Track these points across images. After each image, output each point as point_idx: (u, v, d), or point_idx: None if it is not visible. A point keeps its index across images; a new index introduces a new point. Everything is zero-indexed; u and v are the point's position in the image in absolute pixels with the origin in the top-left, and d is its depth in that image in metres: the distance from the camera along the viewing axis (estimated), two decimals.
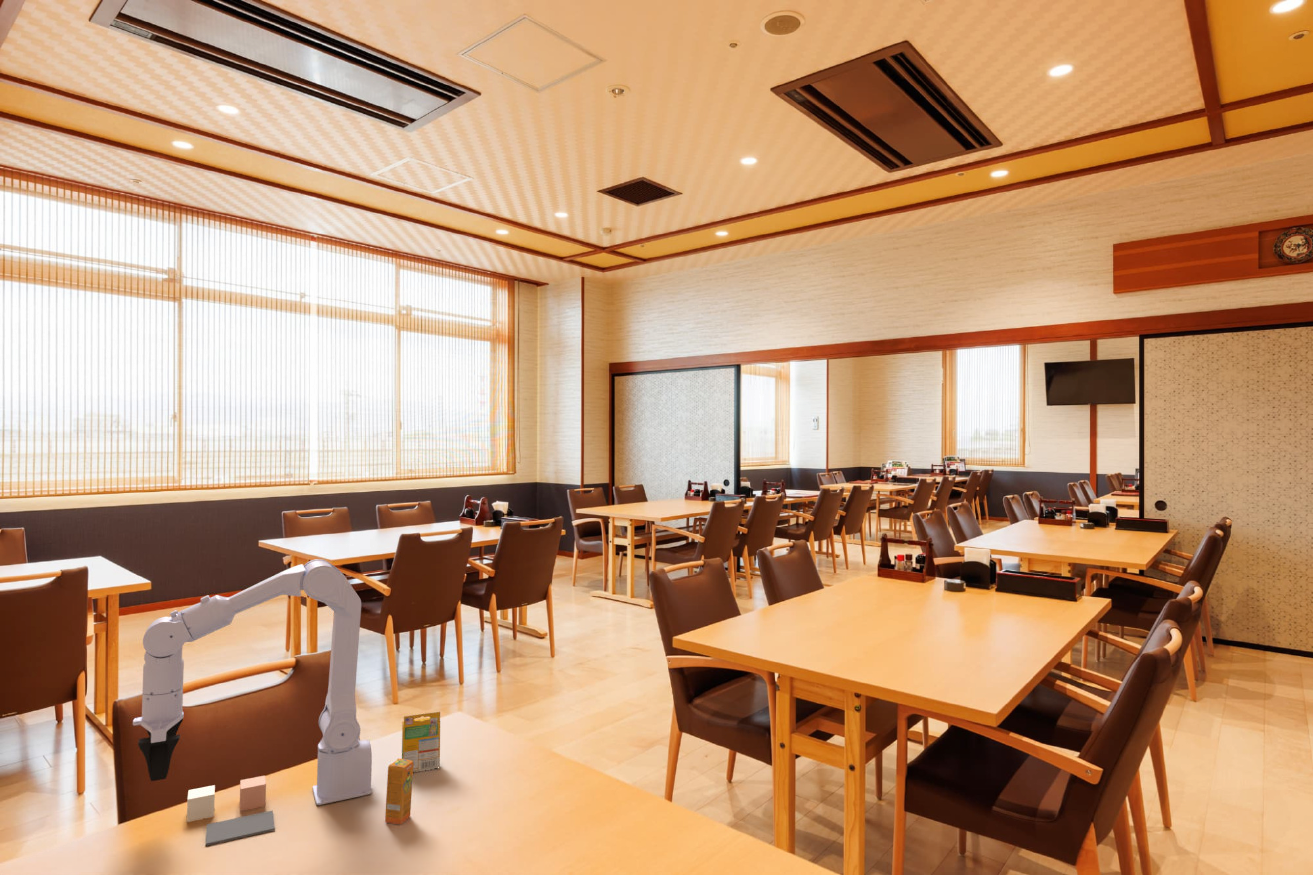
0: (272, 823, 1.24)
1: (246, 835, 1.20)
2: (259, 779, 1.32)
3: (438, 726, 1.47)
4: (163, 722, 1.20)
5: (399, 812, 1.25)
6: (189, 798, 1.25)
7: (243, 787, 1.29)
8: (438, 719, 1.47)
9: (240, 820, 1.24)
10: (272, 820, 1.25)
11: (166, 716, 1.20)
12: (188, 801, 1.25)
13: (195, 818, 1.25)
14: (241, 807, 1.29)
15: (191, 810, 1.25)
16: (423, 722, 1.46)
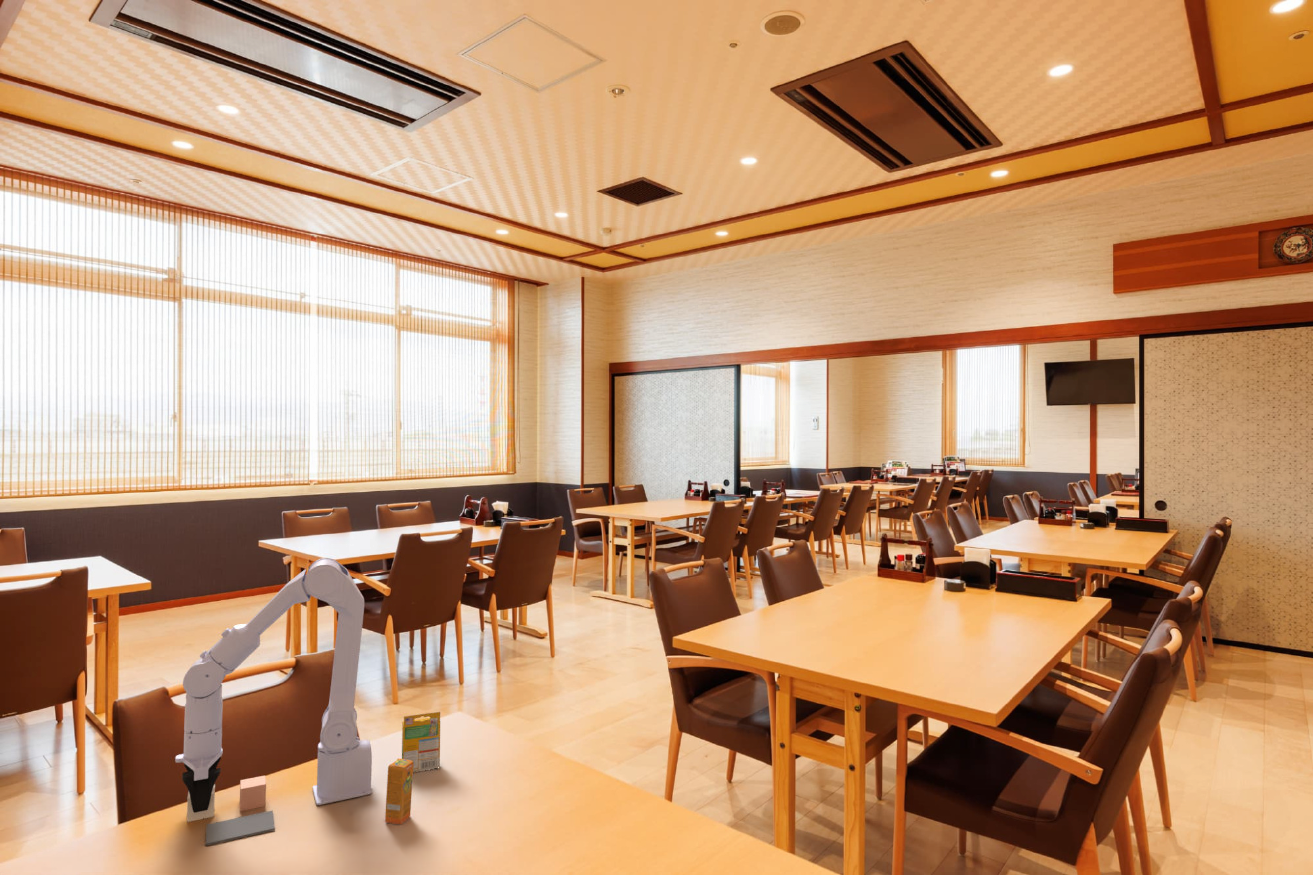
0: (272, 823, 1.24)
1: (246, 835, 1.20)
2: (259, 779, 1.32)
3: (438, 726, 1.47)
4: (204, 759, 1.25)
5: (399, 812, 1.25)
6: (189, 797, 1.25)
7: (243, 787, 1.29)
8: (438, 719, 1.47)
9: (240, 820, 1.24)
10: (272, 820, 1.25)
11: (206, 753, 1.25)
12: (188, 800, 1.25)
13: (195, 817, 1.25)
14: (241, 807, 1.29)
15: (191, 809, 1.25)
16: (423, 722, 1.46)
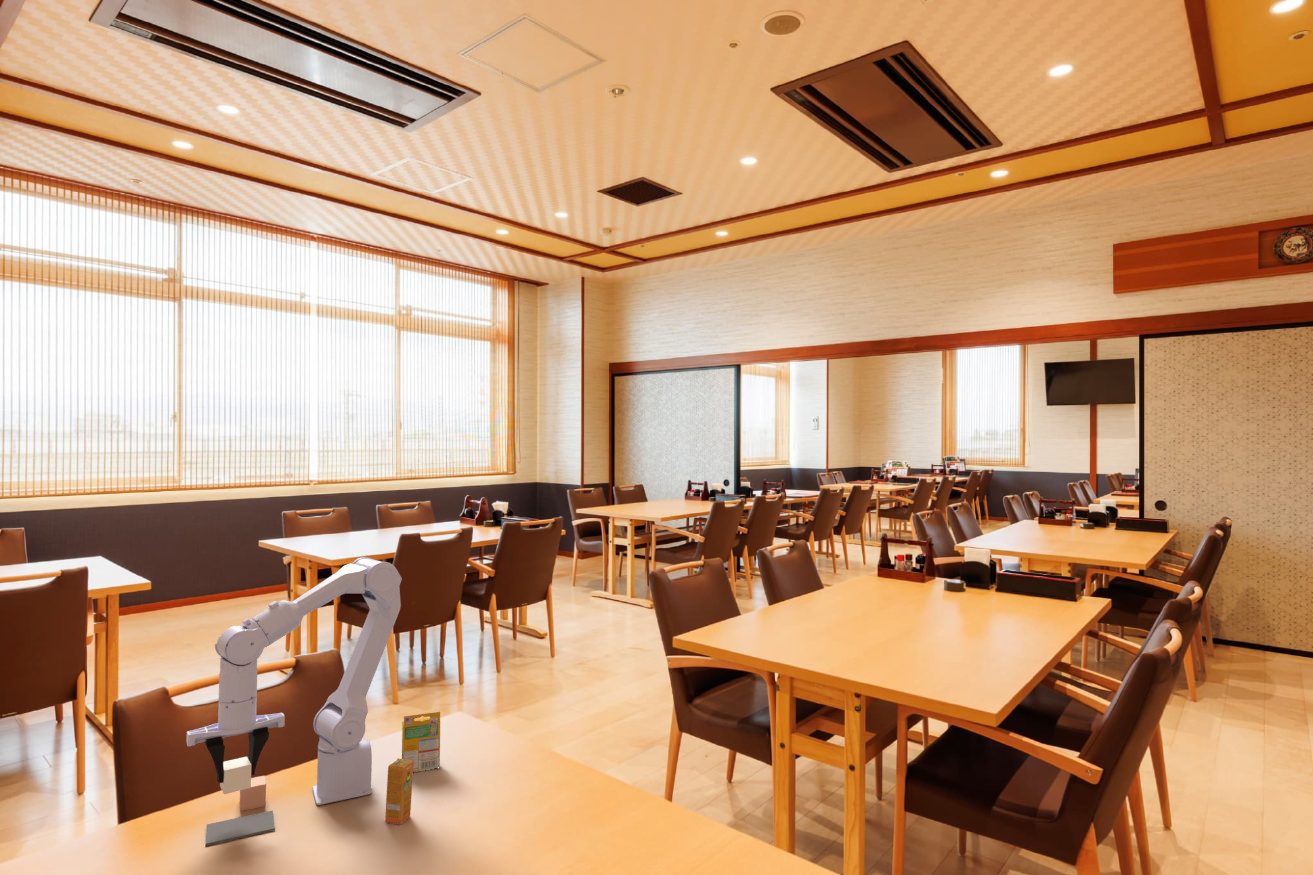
0: (272, 823, 1.24)
1: (246, 835, 1.20)
2: (259, 779, 1.32)
3: (438, 726, 1.47)
4: (217, 729, 1.21)
5: (399, 812, 1.25)
6: (223, 762, 1.24)
7: None
8: (438, 718, 1.47)
9: (240, 820, 1.24)
10: (272, 820, 1.25)
11: (219, 724, 1.21)
12: None
13: (221, 785, 1.23)
14: (241, 807, 1.29)
15: None
16: (423, 722, 1.46)
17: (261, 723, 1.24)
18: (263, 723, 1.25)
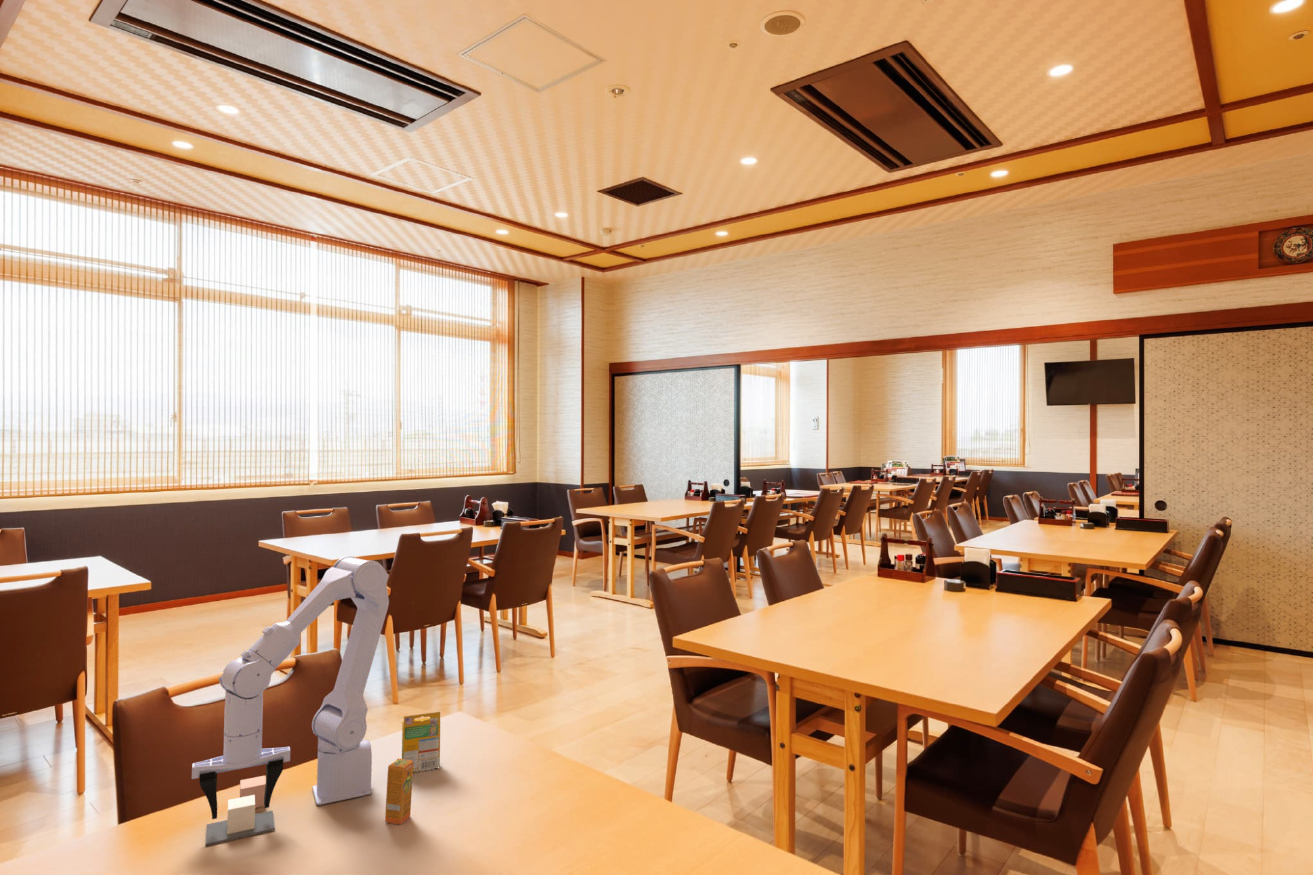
0: (272, 823, 1.24)
1: (246, 835, 1.20)
2: (258, 779, 1.32)
3: (438, 726, 1.47)
4: (221, 762, 1.21)
5: (399, 812, 1.25)
6: (230, 800, 1.23)
7: (243, 787, 1.29)
8: (438, 719, 1.47)
9: None
10: (272, 820, 1.25)
11: (223, 757, 1.21)
12: (228, 802, 1.23)
13: None
14: None
15: None
16: (423, 722, 1.46)
17: (265, 758, 1.23)
18: (267, 758, 1.23)
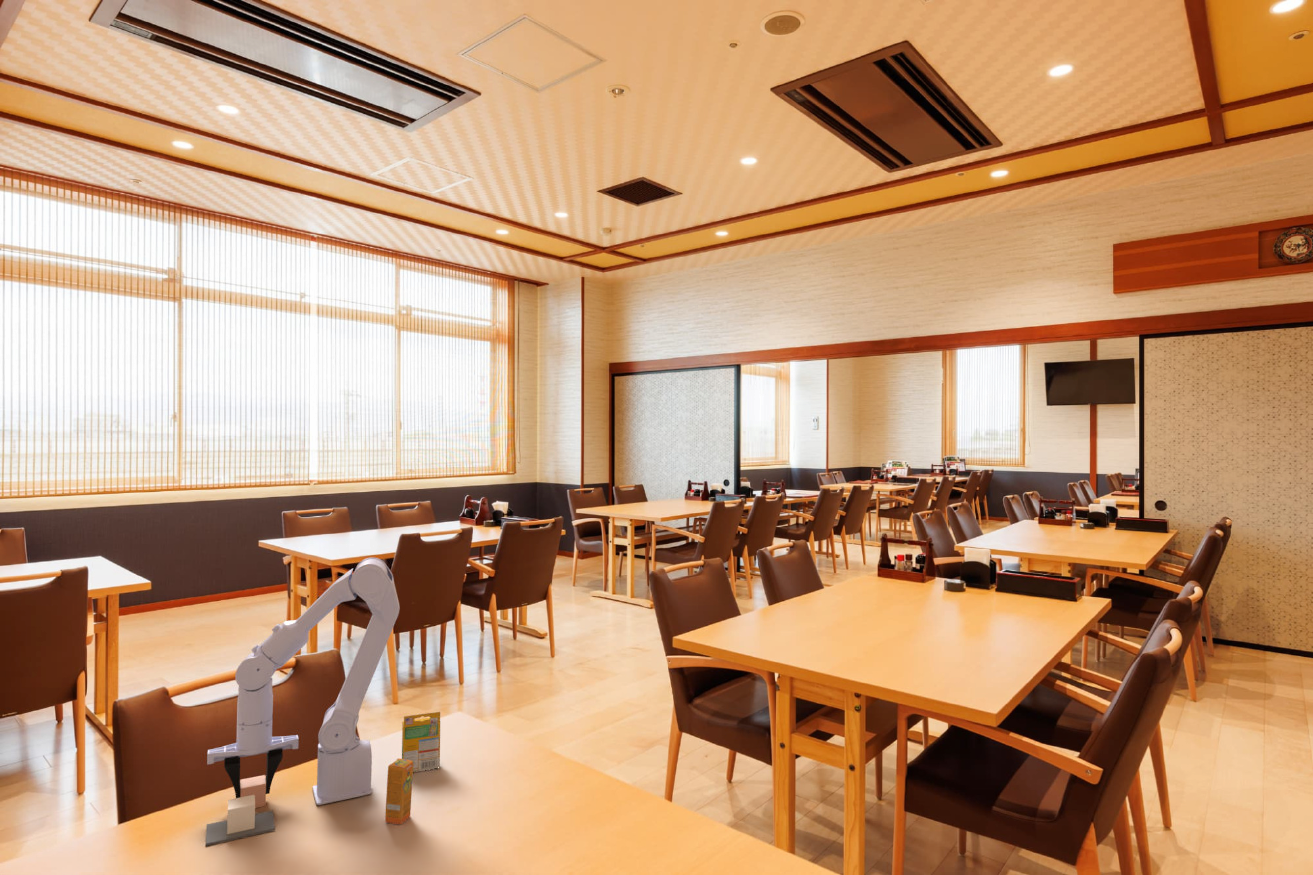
0: (272, 823, 1.24)
1: (246, 835, 1.20)
2: (259, 779, 1.32)
3: (438, 726, 1.47)
4: (234, 749, 1.30)
5: (399, 812, 1.25)
6: (230, 800, 1.23)
7: (243, 786, 1.29)
8: (438, 719, 1.47)
9: None
10: (272, 820, 1.25)
11: (236, 744, 1.29)
12: (228, 802, 1.23)
13: None
14: None
15: None
16: (423, 722, 1.46)
17: (275, 745, 1.31)
18: (277, 745, 1.32)
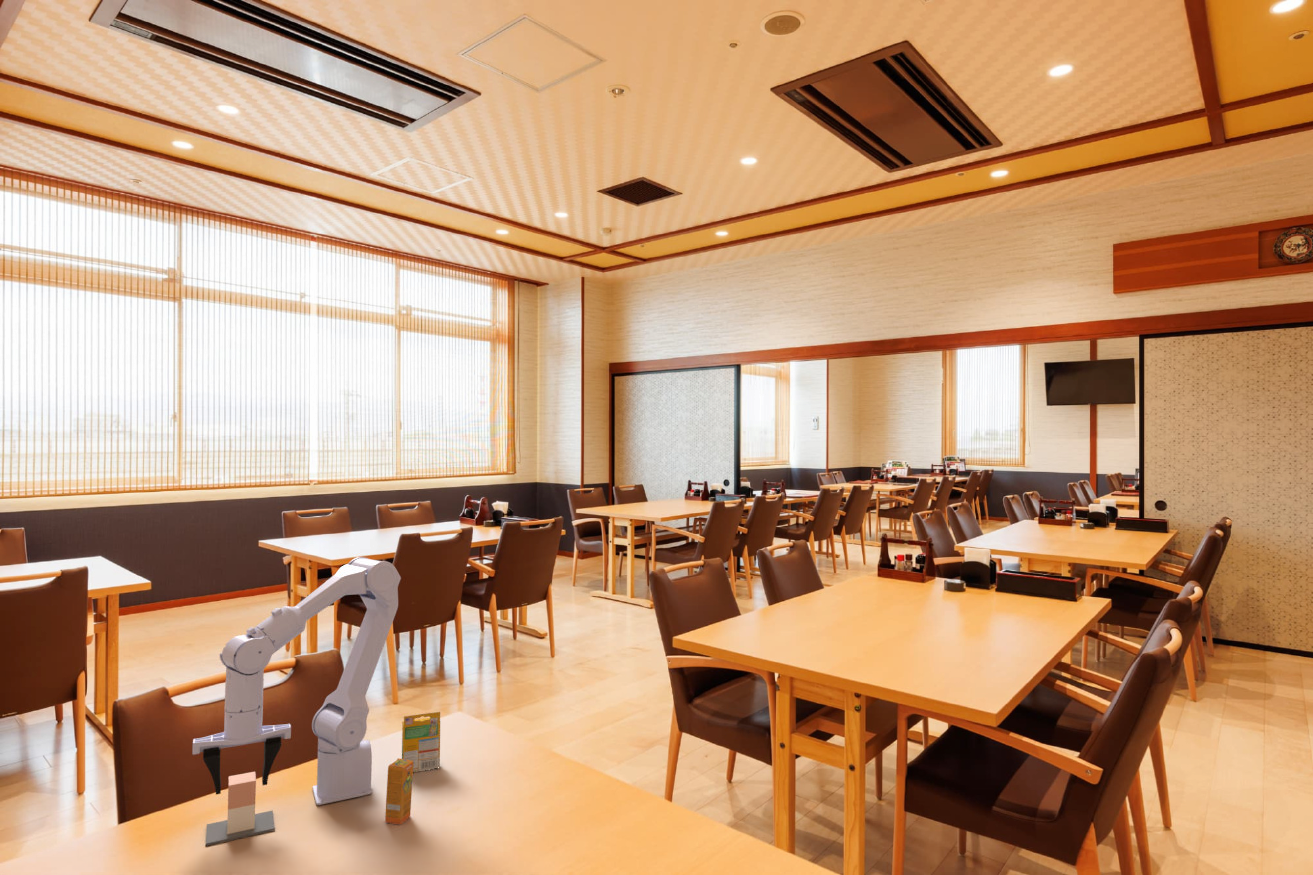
0: (272, 823, 1.24)
1: (246, 835, 1.20)
2: (248, 775, 1.24)
3: (438, 726, 1.47)
4: (222, 738, 1.21)
5: (399, 812, 1.25)
6: None
7: (231, 783, 1.21)
8: (438, 719, 1.47)
9: None
10: (272, 820, 1.25)
11: (224, 733, 1.21)
12: None
13: None
14: (229, 805, 1.20)
15: None
16: (423, 722, 1.46)
17: (266, 734, 1.23)
18: (268, 734, 1.23)
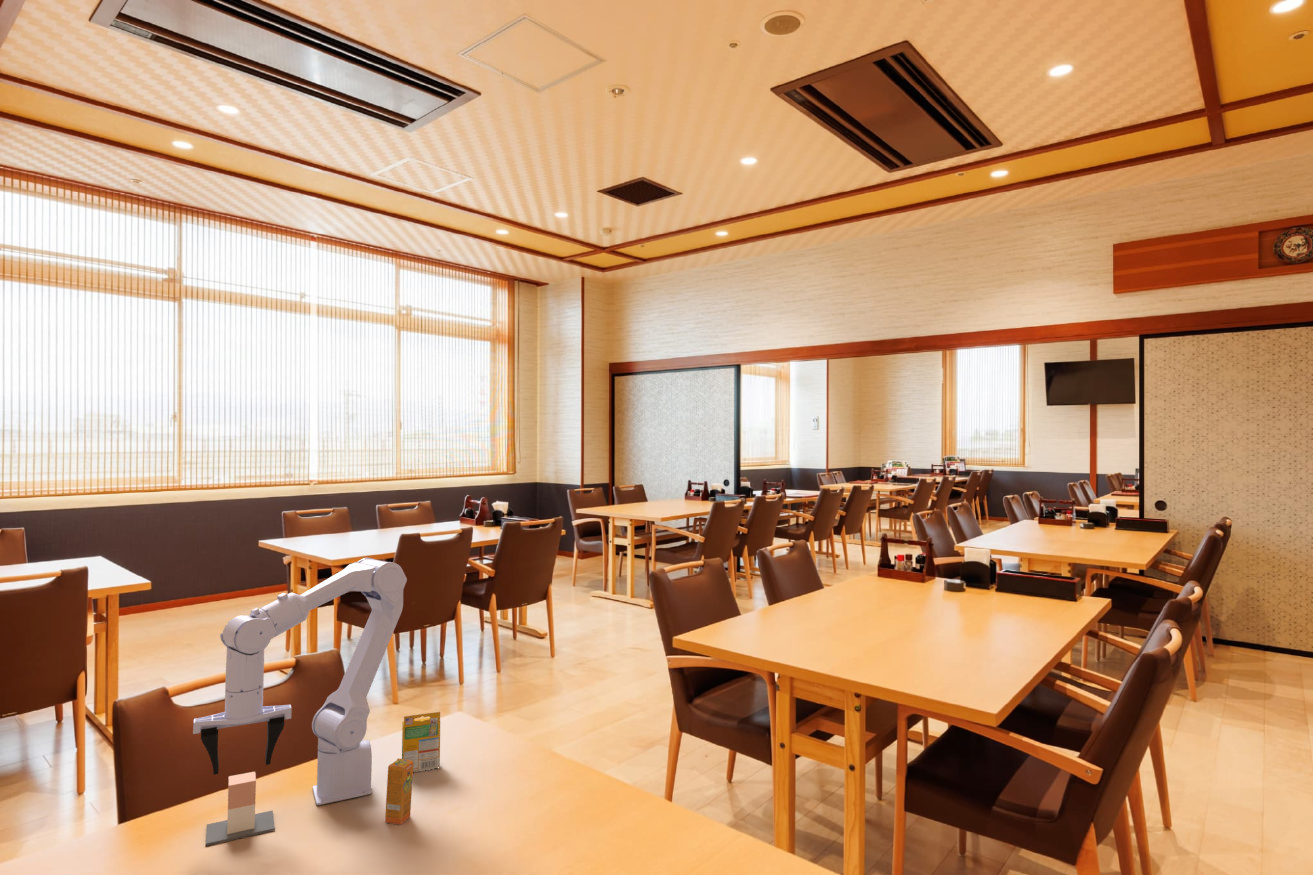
0: (272, 823, 1.24)
1: (246, 835, 1.20)
2: (248, 775, 1.24)
3: (438, 726, 1.47)
4: (223, 718, 1.21)
5: (399, 812, 1.25)
6: None
7: (231, 783, 1.21)
8: (438, 719, 1.47)
9: None
10: (272, 820, 1.25)
11: (225, 713, 1.21)
12: None
13: None
14: (229, 805, 1.20)
15: None
16: (423, 722, 1.46)
17: (266, 714, 1.23)
18: (268, 714, 1.23)
